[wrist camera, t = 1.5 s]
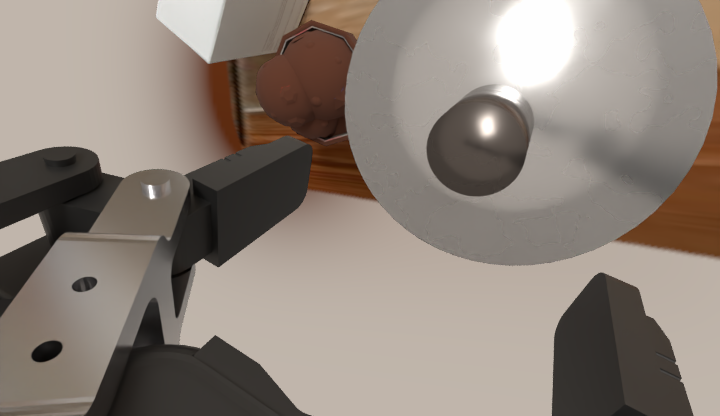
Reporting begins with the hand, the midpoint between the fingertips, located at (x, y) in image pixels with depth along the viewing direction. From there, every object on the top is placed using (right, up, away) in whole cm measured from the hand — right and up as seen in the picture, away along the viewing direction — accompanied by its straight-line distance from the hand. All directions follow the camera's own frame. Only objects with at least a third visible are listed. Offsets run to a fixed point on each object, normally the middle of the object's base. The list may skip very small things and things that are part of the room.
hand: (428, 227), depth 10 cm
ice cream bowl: (-1, +16, +31) cm, 35 cm away
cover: (+13, +13, +24) cm, 30 cm away
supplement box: (-11, +24, +32) cm, 42 cm away
